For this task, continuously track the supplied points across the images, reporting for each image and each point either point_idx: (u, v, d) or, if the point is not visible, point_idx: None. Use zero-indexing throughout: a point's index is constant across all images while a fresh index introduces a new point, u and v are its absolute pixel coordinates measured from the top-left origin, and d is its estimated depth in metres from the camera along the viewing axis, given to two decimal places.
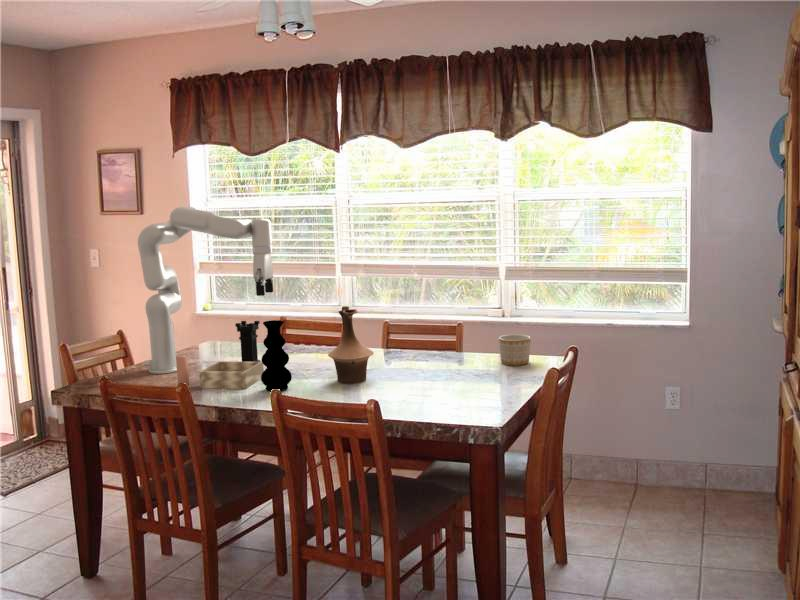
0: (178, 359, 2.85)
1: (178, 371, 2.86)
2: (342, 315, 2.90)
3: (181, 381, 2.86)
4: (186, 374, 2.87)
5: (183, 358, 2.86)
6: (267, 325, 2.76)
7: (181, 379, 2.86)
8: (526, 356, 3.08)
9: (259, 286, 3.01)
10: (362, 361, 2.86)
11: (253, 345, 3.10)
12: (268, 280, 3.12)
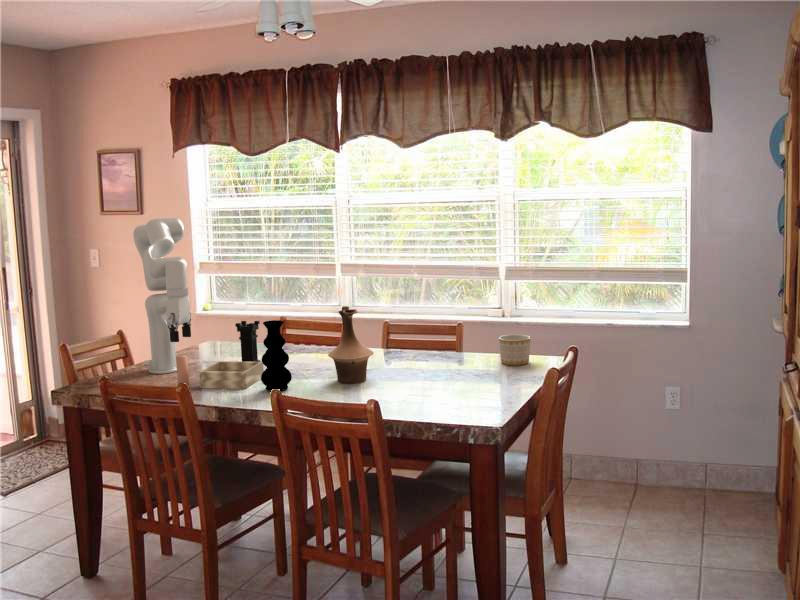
0: (178, 359, 2.85)
1: (178, 371, 2.86)
2: (342, 315, 2.90)
3: (181, 381, 2.86)
4: (186, 374, 2.87)
5: (183, 358, 2.86)
6: (267, 325, 2.76)
7: (181, 379, 2.86)
8: (526, 356, 3.08)
9: (173, 332, 2.80)
10: (362, 361, 2.86)
11: (253, 345, 3.10)
12: (185, 324, 2.91)
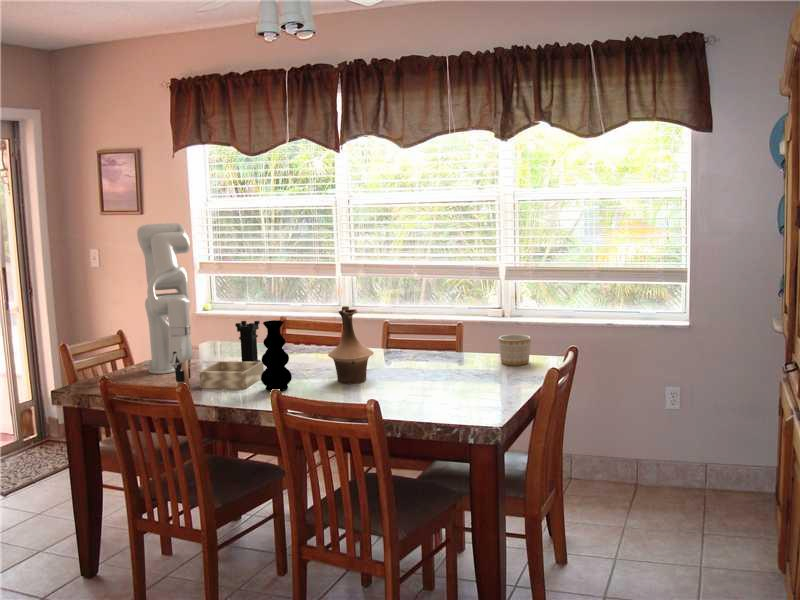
0: None
1: None
2: (342, 315, 2.90)
3: None
4: (186, 374, 2.87)
5: None
6: (267, 325, 2.76)
7: None
8: (526, 356, 3.08)
9: (178, 372, 2.85)
10: (362, 361, 2.86)
11: (253, 345, 3.10)
12: None
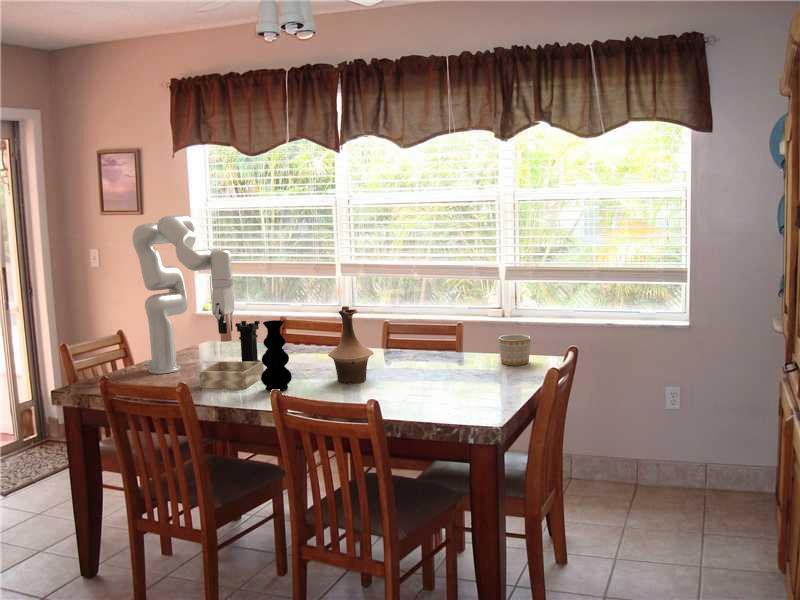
0: None
1: None
2: (342, 315, 2.90)
3: None
4: (228, 326, 2.91)
5: None
6: (267, 325, 2.76)
7: None
8: (526, 356, 3.08)
9: (221, 324, 2.89)
10: (362, 361, 2.86)
11: (253, 345, 3.10)
12: None
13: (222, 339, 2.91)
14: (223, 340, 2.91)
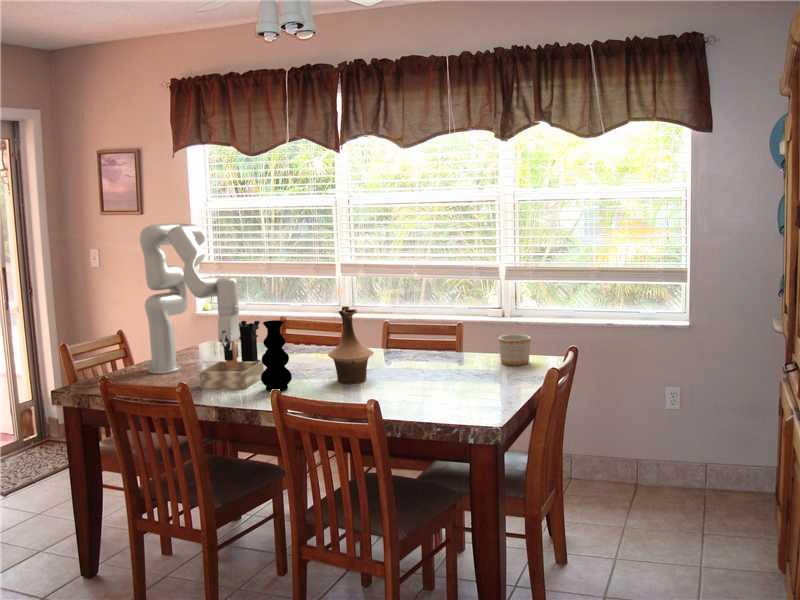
0: None
1: None
2: (342, 315, 2.90)
3: None
4: (234, 353, 2.93)
5: None
6: (267, 325, 2.76)
7: None
8: (526, 356, 3.08)
9: (227, 351, 2.91)
10: (362, 361, 2.86)
11: (253, 345, 3.10)
12: None
13: (228, 366, 2.93)
14: (229, 367, 2.93)
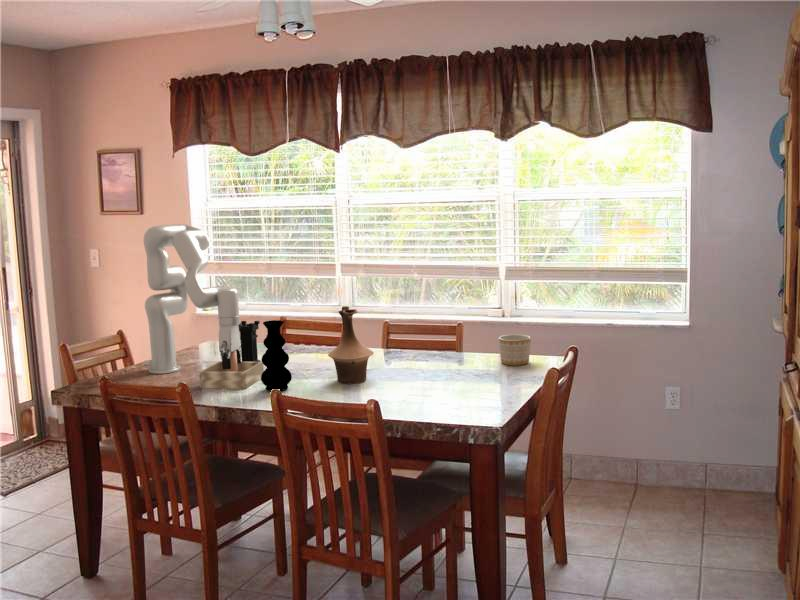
0: None
1: None
2: (342, 315, 2.90)
3: None
4: (235, 369, 2.94)
5: (233, 353, 2.93)
6: (267, 325, 2.76)
7: None
8: (526, 356, 3.08)
9: (225, 359, 2.89)
10: (362, 361, 2.86)
11: (253, 345, 3.10)
12: None
13: None
14: None
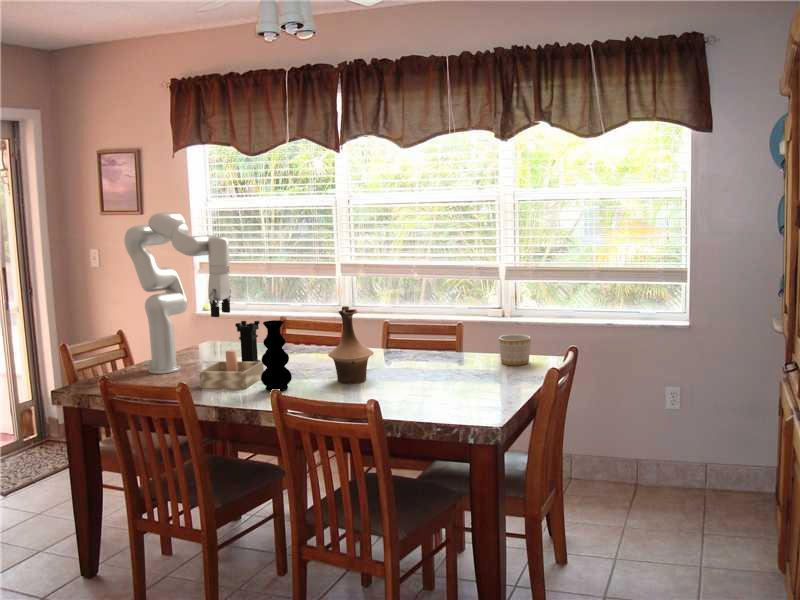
0: (228, 354, 2.92)
1: (228, 365, 2.93)
2: (342, 315, 2.90)
3: None
4: (235, 369, 2.94)
5: (233, 353, 2.93)
6: (267, 325, 2.76)
7: None
8: (526, 356, 3.08)
9: (214, 307, 2.91)
10: (362, 361, 2.86)
11: (253, 345, 3.10)
12: (225, 300, 3.01)
13: None
14: None
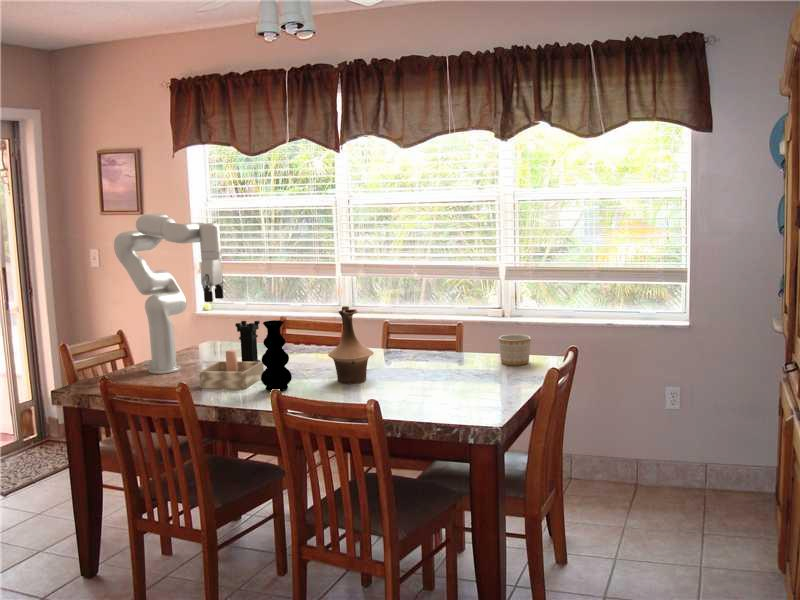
0: (228, 354, 2.92)
1: (228, 365, 2.93)
2: (342, 315, 2.90)
3: None
4: (235, 369, 2.94)
5: (233, 353, 2.93)
6: (267, 325, 2.76)
7: None
8: (526, 356, 3.08)
9: (207, 292, 2.95)
10: (362, 361, 2.86)
11: (253, 345, 3.10)
12: (218, 286, 3.05)
13: None
14: None
